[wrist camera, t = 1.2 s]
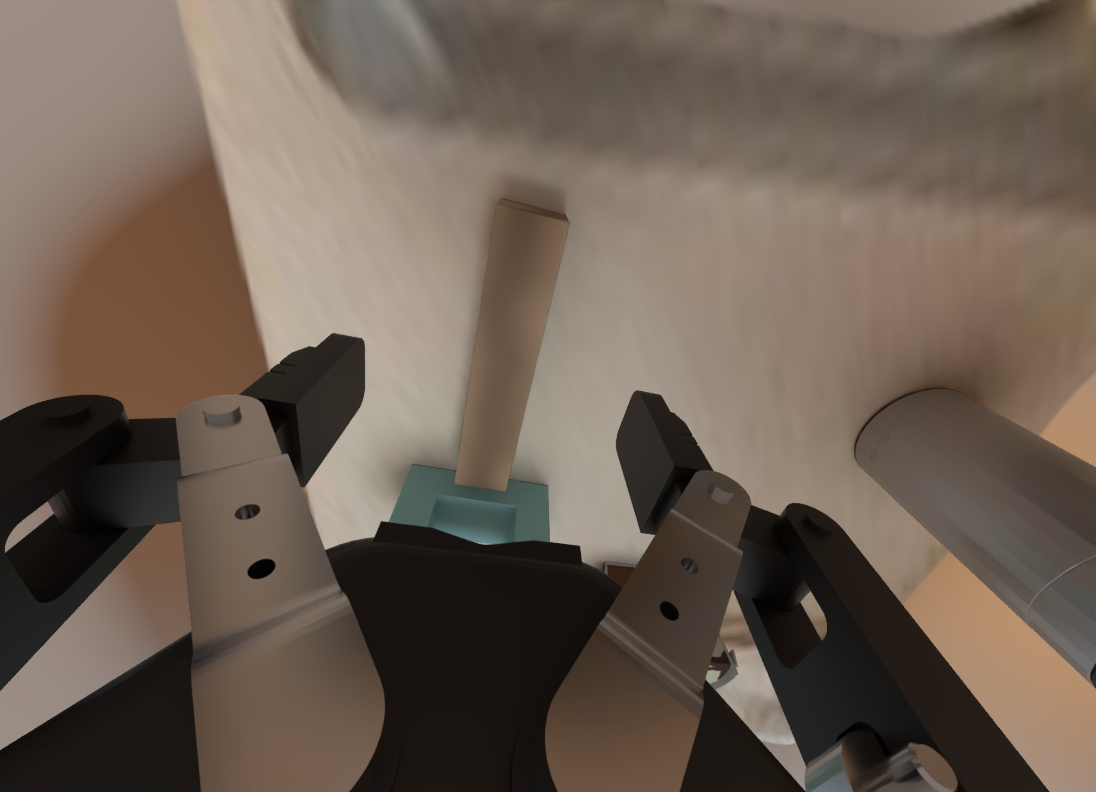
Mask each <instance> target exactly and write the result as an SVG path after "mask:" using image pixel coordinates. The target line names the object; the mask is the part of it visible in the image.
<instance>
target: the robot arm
mask: <svg viewBox="0 0 1096 792" xmlns="http://www.w3.org/2000/svg"><path fill="white" fill-rule="evenodd" d="M364 392H365V344H364V341H363V339H362V338H357V337H352V336H346V335H341V334H336V333H332V334H331V335H330V336H328V337H327V338H326V339H325V340H324V341H323V342H321V343H320V344H319V345H318V346H317V347H310V346H309V347H306V348H303V349H301V350H298V351H295V352H292V353H291V354H289V355H288V356H287V357H286V358H284V359H283V360H282V361H281V362H280V364H277V365H276V366H274V367H273V368H272V369H271V370H270V372H267V373H266V374H264V375H263V376H262V377H261V378H259V379H258V380H257V381H256V382H254V383H253V384H252V385H251V386H250V387H248V388H247V389H246V390H245V391H243V392H242V393H241V394H239V395H219V396H213V397H209V398H204V399H201V400H198V401H195V402H193V403H191V404H189V405H187V406H186V407H185V408H183V409H182V410H181V411H180V412H179V413H178V415H177V417H176V418H155V419H128V417H127V414H126V411H125V409H124V406H123V404H122V403H121V402H120V401H119V400H117V399H115V398H111V397H108V396H102V395H74V396H65V397H60V398H54V399H50V400H46V401H42V402H39V403H36V404H33V405H31V406H28V407H26V408H24V409H22V410H19V411H18V412H16V413H14V414H12V415H10V416H8V417H6V418H4V419H2V420H1V421H0V691H1V689H3V687H4V686H5V685H6V684H7V683H8V682H9V681H10V680H11V679H12V678H13V677H14V676H15V675H16V674H17V673H18V671H19V670H20V669H21V668H22V667H23V666H24V665H25V664H26V663H27V662H28V661H29V660H30V659H31V657H33V655H34V654H35V653H36V652H37V651H38V650H39V649H40V648H41V647H42V646H43V645H44V644H45V643H46V641H47V640H48V639H49V638H50V637H51V636H52V635H53V634H54V633H55V632H56V631H57V630H58V629H59V628H60V627H61V625H62V624H63V623H64V622H65V621H66V620H67V619H68V618H69V617H70V616H71V615H72V614H73V613H74V612H75V610H76V609H77V608H78V607H79V606H80V605H81V604H82V603H83V602H84V601H85V600H86V599H87V598H88V596H89V595H90V594H91V593H92V592H93V591H94V590H95V589H96V588H97V587H98V586H99V585H100V584H101V583H102V582H103V581H104V579H105V578H106V577H107V576H108V575H109V574H110V573H111V572H112V571H113V570H114V569H115V568H116V567H117V566H118V564H119V563H120V562H121V561H122V560H123V559H124V558H125V557H126V556H127V555H128V553H130V551H132V550H133V548H134V547H135V546H136V545H137V544H138V543H139V542H140V541H141V540H142V539H143V537H145V536H146V535H147V533H148V532H149V531H150V530H151V529H152V528H153V527H154V526H155V525H156V524H162V523H172V522H181V529H182V539H183V549H184V560H185V570H186V580H187V591H188V601H189V611H190V621H191V632H189V633H188V634H186V635H185V636H183V637H181V638H180V639H178V640H177V641H175V642H173V643H172V644H170V645H168V646H167V647H165V648H164V649H162V650H161V651H159V652H157V653H156V654H154V655H153V656H151V657H149V658H148V659H146V660H144V661H143V662H141V663H140V664H138V665H136V666H135V667H133V668H132V669H130V670H128V671H127V672H125V673H124V674H122V675H121V676H119V677H117V678H115V679H114V680H112V681H111V682H109V683H107V684H106V685H104V686H103V687H101V688H99V689H98V690H96V691H95V692H93V693H91V694H90V695H88V696H87V697H85V698H84V699H82V700H80V701H79V702H77V703H75V704H74V705H72V706H70V707H69V708H67V709H66V710H64V711H62V712H61V713H59V714H58V715H56V716H54V717H53V718H51V719H50V720H48V721H46V722H45V723H43V724H42V725H40V726H38V727H37V728H35V729H34V730H32V731H30V732H29V733H27V734H26V735H24V736H22V737H21V738H19V739H17V740H16V741H14V742H13V743H11V744H9V745H8V746H6V747H5V748H3V749H1V750H0V792H1049V791H1048V789H1047V788H1046V787H1045V786H1044V784H1043V783H1042V782H1041V780H1040V779H1039V778H1038V777H1037V775H1036V774H1035V773H1034V772H1033V770H1032V769H1031V768H1030V767H1029V765H1028V764H1027V763H1026V761H1025V760H1024V759H1023V758H1022V756H1021V755H1020V754H1019V752H1018V751H1017V750H1016V749H1015V747H1014V746H1013V745H1012V744H1011V742H1010V741H1009V740H1008V739H1007V737H1006V736H1005V735H1004V733H1003V732H1002V731H1001V730H1000V728H999V727H998V726H997V725H996V724H995V722H994V721H993V719H992V718H991V717H990V716H989V714H988V713H987V712H986V711H985V709H984V708H983V707H982V706H981V704H980V703H979V702H978V700H977V699H976V698H975V697H974V695H973V694H972V693H971V691H970V690H969V689H968V688H967V686H966V685H965V684H964V683H963V681H962V680H961V679H960V677H959V676H958V675H957V674H956V672H955V671H954V670H953V669H952V667H951V666H950V665H949V663H948V662H947V661H946V660H945V658H944V657H943V656H942V655H941V653H940V652H939V651H938V650H937V648H936V647H935V646H934V644H933V643H932V642H931V641H930V639H929V638H928V637H927V636H926V634H925V633H924V632H923V630H922V629H921V628H920V627H919V625H918V624H917V623H916V622H915V620H914V619H913V618H912V616H911V615H910V614H909V613H908V611H907V610H906V609H905V608H904V606H903V605H902V604H901V602H900V601H899V600H898V599H897V597H896V596H895V595H894V594H893V592H892V591H891V590H890V588H889V587H888V586H887V585H886V583H885V582H884V581H883V580H882V578H881V577H880V576H879V574H878V573H877V572H876V571H875V569H874V568H873V567H872V566H871V564H870V563H869V562H868V560H867V559H866V558H865V557H864V555H863V554H862V553H861V552H860V550H859V549H858V548H857V547H856V545H855V544H854V543H853V541H852V540H851V539H850V538H849V536H848V535H847V534H846V533H845V531H844V530H843V529H842V528H841V527H840V526H839V525H838V524H837V523H836V522H835V521H834V520H833V519H831V518H830V517H829V516H827V515H826V514H824V513H822V512H821V511H819V510H817V509H815V508H813V507H810V506H808V505H804V504H800V503H791V504H789V505H787V507H786V508H785V509H784V511H783V512H782V514H781V515H780V516H779V515H776V514H774V513H771V512H768V511H766V510H763V509H760V508H758V507H755V506H753V505H751V499H750V497H749V495H748V493H747V492H746V491H745V490H744V489H743V488H742V486H740V485H739V484H738V483H737V482H735V481H734V480H733V479H731V478H729V477H728V476H726V475H723V474H721V473H718V472H715V471H713V469H712V467H711V466H710V464H709V462H708V461H707V459H706V457H705V455H704V454H703V452H702V450H701V449H700V447H699V446H697V442H696V440H695V438H694V437H692V433H691V432H690V430H689V428H688V427H687V425H686V423H685V422H683V421H682V420H681V419H680V418H679V417H678V416H677V415H676V414H675V413H672V412H670V410H669V408H668V407H667V405H666V403H665V401H664V399H663V398H662V396H661V395H659V394H654V393H648V392H643V391H638V390H637V391H635V392H634V393H633V395H632V397H631V399H630V402H629V404H628V407H627V410H626V412H625V415H624V417H623V420H622V423H621V425H620V428H619V430H618V434H617V439H616V450H617V454H618V457H619V461H620V464H621V468H622V471H623V474H624V478H625V481H626V485H627V488H628V491H629V495H630V498H631V501H632V505H633V508H634V512H635V515H636V518H637V522H638V525H639V529H640V532H641V533H645V534H652V535H655V536H654V538H653V540H652V541H651V543H650V545H649V546H648V548H647V549H646V551H645V553H644V554H643V556H642V557H641V559H640V561H639V562H638V564H637V566H636V567H635V569H634V570H633V572H632V574H631V575H630V577H629V579H628V580H627V582H626V583H625V585H624V587H622V586H621V585H620V584H619V583H618V582H616V581H615V580H614V579H612V578H611V577H610V576H608V575H607V574H605V573H603V572H602V571H600V570H598V569H597V568H594V567H592V566H590V565H588V564H586V563H583V562H582V558H581V550H580V546H577V545H569V544H561V543H553V542H544V541H536V540H530V541H520V542H510V543H501V544H491V545H482V544H478V543H475V542H472V541H469V540H466V539H464V538H461V537H458V536H455V535H452V534H449V533H447V532H444V531H441V530H438V529H435V528H432V527H424V526H416V525H408V524H399V523H391V522H383V521H381V523H380V525H379V528H378V530H377V533H376V535H375V537H373V538H365V539H360V540H354V541H350V542H347V543H343V544H340V545H337V546H335V547H332V548H329V549H327V550H325V549H324V546H323V544H322V541H321V538H320V536H319V533H318V531H317V528H316V525H315V523H314V520H313V518H312V515H311V512H310V510H309V507H308V504H307V502H306V499H305V497H304V494H303V491H302V489H301V487H305V486H306V485H307V483H308V482H309V480H310V479H311V477H312V476H313V474H314V473H315V472H316V470H317V469H318V467H319V466H320V464H321V463H322V461H323V460H324V459H325V457H326V456H327V454H328V453H329V451H330V450H331V448H332V447H333V446H334V444H335V443H336V441H337V440H338V438H339V437H340V435H341V434H342V433H343V431H344V430H345V428H346V427H347V425H348V424H349V422H350V421H351V420H352V418H353V417H354V415H355V414H356V412H357V411H358V409H359V408H360V406H361V404H362V401H363V397H364ZM855 455H856V460H857V462H858V464H859V465H860V467H861V468H862V469H863V470H864V471H865V472H866V473H867V474H868V475H869V476H870V477H871V478H873V479H874V480H875V481H876V482H877V483H878V484H879V485H880V486H881V487H882V488H883V489H884V490H885V491H886V492H887V493H888V494H889V495H891V496H892V497H893V498H894V499H895V500H896V501H897V502H898V503H899V504H900V505H901V506H902V507H903V508H904V509H905V510H906V511H907V512H908V513H909V514H910V515H911V516H912V517H914V518H915V519H916V520H917V521H918V522H919V523H920V524H921V525H922V526H923V527H924V528H925V529H926V530H927V531H928V532H929V533H931V534H932V535H933V536H934V537H935V538H936V539H937V540H938V541H939V542H940V543H941V544H942V545H943V546H944V547H945V548H946V549H947V550H949V551H950V552H951V553H952V554H953V555H954V556H955V557H956V558H957V559H958V560H959V561H960V562H961V563H962V564H963V565H965V566H966V567H967V568H968V569H969V570H970V571H971V572H972V573H973V574H974V575H975V576H976V577H977V578H978V579H979V580H981V582H983V583H984V584H985V585H986V586H987V587H988V588H989V589H990V590H991V591H992V592H993V593H994V594H995V595H996V596H997V597H998V598H1000V599H1001V600H1002V601H1003V602H1004V603H1005V604H1006V605H1007V606H1008V607H1009V608H1010V609H1011V610H1012V611H1013V612H1014V613H1016V615H1018V616H1019V617H1020V618H1021V619H1022V620H1023V621H1024V622H1025V623H1026V624H1027V625H1028V626H1029V627H1030V628H1032V629H1033V630H1034V631H1035V632H1036V633H1037V634H1038V635H1039V636H1040V637H1041V638H1042V639H1043V640H1045V641H1046V642H1047V643H1048V644H1049V645H1050V646H1051V647H1052V648H1053V649H1054V650H1055V651H1056V652H1057V653H1058V654H1059V655H1061V657H1063V658H1064V659H1065V660H1066V661H1067V662H1068V663H1069V664H1070V665H1071V666H1072V667H1073V668H1074V669H1075V670H1076V671H1077V672H1079V673H1080V674H1081V675H1082V676H1083V677H1084V678H1085V679H1086V680H1087V681H1088V682H1089V683H1090V684H1091V685H1093V686H1094V687H1095V688H1096V467H1095V466H1093V465H1091V464H1089V463H1087V462H1085V461H1084V460H1082V459H1080V458H1078V457H1076V456H1075V455H1073V454H1071V453H1069V452H1067V451H1065V450H1063V449H1062V448H1060V447H1058V446H1056V445H1054V444H1052V443H1051V442H1049V441H1047V440H1045V439H1043V438H1041V437H1040V436H1038V435H1036V434H1034V433H1032V432H1030V431H1029V430H1027V429H1025V428H1023V427H1021V426H1019V425H1018V424H1016V423H1014V422H1012V421H1011V420H1009V419H1007V418H1005V417H1003V416H1002V415H1000V414H998V413H996V412H994V411H992V410H990V409H989V408H987V407H985V406H983V405H981V404H979V403H977V402H976V401H974V400H972V399H970V398H968V397H966V396H964V395H962V394H961V393H959V392H957V391H953V390H948V389H932V390H926V391H921V392H918V393H914V394H911V395H908V396H906V397H904V398H902V399H900V400H898V401H896V402H894V403H893V404H891V405H889V406H888V407H886V408H885V409H883V410H882V411H881V412H880V413H879V414H877V415H876V416H875V417H874V418H873V419H872V420H871V421H870V422H869V423H868V425H867V426H866V427H865V428H864V430H863V432H862V433H861V435H860V436H859V439H858V442H857V444H856V451H855ZM47 501H48V503H49V505H50V506H51V508H52V510H53V512H54V514H53V515H52V516H50V517H49V518H48V519H47V520H46V521H44V522H43V523H42V524H41V525H39V526H38V527H37V528H36V529H34V530H33V531H32V532H31V533H29V534H28V535H27V536H26V537H24V538H23V539H22V540H21V541H19V542H18V543H17V544H16V545H15V546H13V547H12V548H11V549H9V550H8V551H7V552H6V553H5V544H6V541H7V539H8V536H9V535H10V533H11V532H12V530H13V529H14V528H15V527H16V526H17V524H19V523H20V522H21V521H22V520H23V519H25V518H26V517H27V516H29V515H30V514H31V513H33V512H34V511H35V510H36V509H38V508H39V507H40V506H42V505H43V504H44V503H46V502H47ZM732 590H734V593H735V596H736V598H737V600H738V603H739V605H740V608H741V610H742V613H743V615H744V617H745V620H746V622H747V625H748V627H749V630H750V632H751V634H752V637H753V639H754V642H755V644H756V646H757V649H758V651H759V654H760V656H761V659H762V661H763V663H764V666H765V668H766V671H767V673H768V675H769V678H770V680H771V683H772V685H773V688H774V690H775V692H776V695H777V697H778V700H779V702H780V704H781V707H782V709H783V712H784V714H785V717H786V719H787V721H788V724H789V726H790V729H791V731H792V733H793V736H794V738H795V741H796V743H797V746H798V748H799V750H800V753H801V755H802V758H803V760H804V762H805V765H806V767H807V768H806V771H805V788H806V791H805V790H804V789H803V788H802V787H801V786H800V785H799V784H798V783H797V781H796V780H795V779H794V778H793V777H792V776H791V775H790V773H789V772H788V771H787V770H786V769H785V768H784V767H783V766H782V764H780V762H779V761H778V760H777V759H776V758H775V757H774V756H773V754H772V753H771V752H770V751H769V750H768V749H767V748H766V747H765V745H763V743H762V742H761V741H760V740H759V739H758V738H757V736H756V735H755V734H754V733H753V732H752V731H751V730H750V729H749V727H748V726H747V725H746V724H745V723H744V722H743V721H742V720H741V718H740V717H739V716H738V715H737V714H736V713H735V712H734V711H733V709H732V708H731V707H730V706H729V705H728V704H727V703H726V702H725V700H724V699H723V698H722V697H721V696H720V695H719V694H718V693H717V691H716V690H715V689H714V688H713V687H712V686H711V685H710V684H709V682H708V681H707V680H706V675H707V672H708V669H709V665H710V662H711V659H712V655H713V652H714V649H715V645H716V642H717V639H718V635H719V632H720V629H721V625H722V622H723V619H724V615H725V612H726V609H727V605H728V602H729V599H730V595H731V592H732ZM810 591H811V592H812V594H813V596H814V597H815V599H816V601H817V602H818V604H819V606H820V607H821V609H822V611H823V613H824V615H825V617H826V621H827V633H826V636H825V638H824V639H823V640H821V639H820V637H819V635H818V633H817V631H816V630H815V628H814V626H813V624H812V622H811V621H810V619H809V617H808V615H807V613H806V612H805V610H804V608H803V606H802V604H801V603H800V602H801V601H802V599H803V598H804V597H805V596H806V595H807V594H808V593H809V592H810Z"/></svg>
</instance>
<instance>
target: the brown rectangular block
mask: <svg viewBox="0 0 1096 792" xmlns="http://www.w3.org/2000/svg"><path fill="white" fill-rule="evenodd" d="M569 224H570V222H569V220H568V218H567V217H566V215H564V214H560V213H556V212H552V211H548V210H544V209H541V208H537V207H533V206H529V205H525V204H521V203H517V202H513V201H509V200H505V199H501V200H500V201H499V202H498V203H497V204H496V211H495V218H494V224H493V231H492V237H491V244H490V251H489V257H488V264H487V271H486V277H485V284H484V290H483V297H482V304H481V310H480V317H479V324H478V330H477V337H476V344H475V350H474V357H473V363H472V370H471V377H470V383H469V390H468V397H467V403H466V410H465V416H464V423H463V430H462V436H461V443H460V450H459V456H458V463H457V470H456V476H455V483H454V484H460V485H466V486H473V487H480V488H486V489H493V490H500V491H506V488H507V483H508V479H509V475H510V471H511V467H512V463H513V458H514V454H515V450H516V446H517V442H518V437H519V433H520V429H521V425H522V421H523V417H524V412H525V408H526V404H527V400H528V396H529V392H530V387H531V383H532V379H533V375H534V371H535V366H536V362H537V358H538V354H539V350H540V346H541V341H542V337H543V333H544V329H545V325H546V321H547V316H548V312H549V308H550V304H551V300H552V295H553V291H554V287H555V283H556V279H557V275H558V270H559V266H560V262H561V258H562V254H563V250H564V245H565V241H566V237H567V233H568V229H569Z"/></svg>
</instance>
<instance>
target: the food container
mask: <svg viewBox="0 0 1096 792" xmlns="http://www.w3.org/2000/svg"><path fill="white" fill-rule="evenodd" d="M636 566H637V565H632V564H623V563H613V562H605V563H604V567H603V573H605V574H607V575H608V576H610V577H611V578H612V579H614V580H615V581H616V582H618V583H619V584H620V585H621V586H622V587H624V585H625V583H626V582H627V580H628V579H629V577H630V575H631V574H632V572H633V570H634V569H635V567H636ZM737 667H738V665H737V661H736V657H735V653H734V650H731V651H730V652H728V650H727V648H726V646H725V644H724V642H723V640H722V638H721V636H720V634H719V635H718V639H717V642H716V645H715V649H714V652H713V655H712V659H711V662H710V665H709V669H708V672H707V675H706V680H707V681H708V682H709V684H710V685H711V686H712V687H713V688H714V689H715V690H718V689H720V688H722V687H723V686H725V685H727V684H728V683H729V682H731V681H732V680H733V679H734V678H735V677H736V676H737V675H738V673H737V670H736V668H737Z"/></svg>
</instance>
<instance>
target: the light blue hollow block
mask: <svg viewBox="0 0 1096 792" xmlns="http://www.w3.org/2000/svg"><path fill="white" fill-rule="evenodd" d="M455 476H456V471H451V470H445V469H438V468H432V467H426V466H419V465H413V464H412V467H411V469H410V471H409V474H408V476H407V479H406V481H405V484H404V486H403V488H402V491H401V493H400V496H399V498H398V501H397V503H396V505H395V508H394V510H393V513H392V515H391V518H390V520H389V522H391V523H399V524H408V525H416V526H424V527H432V528H435V529H438V530H441V531H444V532H447V533H449V534H452V535H455V536H458V537H461V538H464V539H466V540H469V541H474V542H481V543H489V544H501V543H510V542H520V541H530V540H536V541H544V542H550V528H549V499H548V486H547V485H540V484H534V483H528V482H521V481H515V480H508V483H507V488H506V491H500V490H493V489H486V488H480V487H473V486H466V485H460V484H454V483H455Z"/></svg>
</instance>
